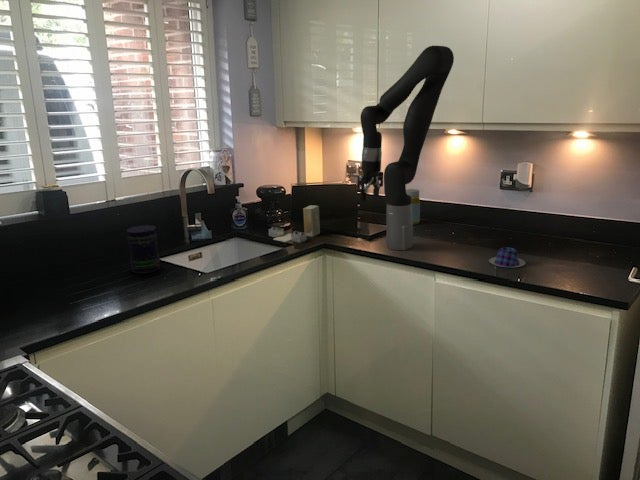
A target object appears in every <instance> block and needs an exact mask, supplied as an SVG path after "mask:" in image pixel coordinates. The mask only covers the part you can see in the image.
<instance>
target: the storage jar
mask: <svg viewBox="0 0 640 480" xmlns="http://www.w3.org/2000/svg"><path fill="white" fill-rule="evenodd" d="M126 232H127V234H126V235H127V242H128V246H129V251H130V256H129V257H130V264H131V272H132V273H135V274H148V273H153V272H156V271H158V270H160V268H161V264H160V260H161V259H160V255H159V252H158V238H157V237H158V236H157V235H158V234H157V231H156V226H155V225H152V224H151V225H149V224H143V225H142V224H141V225H134V226H131V227H128V228H127V229H126Z"/></svg>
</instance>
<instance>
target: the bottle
mask: <svg viewBox="0 0 640 480" xmlns="http://www.w3.org/2000/svg"><path fill="white" fill-rule="evenodd" d="M406 194H407V195H410V196H411V223H413V226H416V225H418V224H420V221H421V219H420V218H421V200H420V189H415V188H413V189H412V188H409V189H406Z"/></svg>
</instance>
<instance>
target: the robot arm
mask: <svg viewBox="0 0 640 480" xmlns="http://www.w3.org/2000/svg"><path fill="white" fill-rule="evenodd" d="M454 59H455V56H454V53H453V51H452V49H451V47H448V46H446V45H445V46H444V45H429V46H427V47H426V48H424V50H422V51H421V53H419V55H418V57H417V58H416V59H415V60H414V62H413V63H412V64H411V65H410V67H409V68H408V69H407V70H406V71H405V72H404V73H403V75H401V77H399V79H398V80H397V81H396V82H395V83H394V84H393V85H392V86H390V87H389V88H388V89H387V90H386V91H385V92H384V93H383V94H381V96H380V98H379V102H378V103H377V104H376V105H367V106H365V107H363V109H362V111H361V113H360V125H361V130H362V135H363V139H362V142H363V143H362V152H361V168H360V169H361V171H362V172H363V175H358V176H357V182H356V184H357V185H356V191H357V192H360V194H359V195H360V197H359V200H360V202H361V203H365V202H366V201H367V192H368V189H369V188H370V187H371V186H372V187H373V191H372V195H373V196H372V198H374V199H379V197H380V196H379V195H380V189H381V187H384V189H383V190H384V197H385V199H386V200H385V201H386V249H388V250H392V251H393V250H394V251H406V250H409V249H411V248H413V247H414V243H413V242H414V241H413V240H414V225H413V223H411V196H410V195H407V194H406V190H407V188H406V187H407V185H408V184H410V183H412V181H413V180H414V179H415V176H416V174H417V169H418V165H419V161H420V156H421V153H422V149H423V147H424V144H425V141H426V137H427V135H428V133H429V130H430V127H431V124H432V121H433V118H434V115H435V114H434V113H435V111H436V108H437V106H438V103H439V100H440V96H441V93H442V91H443V88H444V86H445V83H446V82H447V79H448V77H449V75H450V73H451V70H452V67H453V66H454V61H455V60H454ZM422 81H424V82H423V85H422V86H421V88H420V90H419V91H418V92H417V94H415V97H414V98H413V100H412V101H411V102H410V104H409V107H408V108H407V111H406V115H405V118H404V120H403V127H402V132H403V146H402V147H403V148H402V150H401V154H400V156H399V159H398V161H397V160H396V161H393V162H389V163H388V164H387V165H386V167H385V168H384V172H383V171H381V170H382V158H383V157H382V155H383V153H382V146H383V145H382V142H383V141H382V140H383V134H382V133H381V132H380V131H378V128H377V125H381V124H383V123H384V122H386V121H387V120H388V119H389V117H390V116H391V115H392V113H393V112H394V111H395V110H396V109H397V108H399V107H400V106H401V105H402V104H403V103H404V102H406V100H407V99H408V98H409V97H410V96H411V94H412V93H413V91H414V90H415V88H416V86H417V85H419V83H421V82H422Z"/></svg>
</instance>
